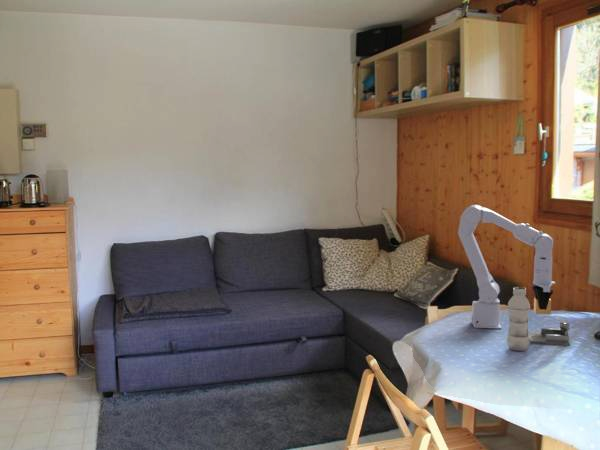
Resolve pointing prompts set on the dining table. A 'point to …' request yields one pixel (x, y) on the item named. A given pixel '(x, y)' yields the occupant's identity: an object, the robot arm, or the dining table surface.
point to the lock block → (541, 311)
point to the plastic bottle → (518, 320)
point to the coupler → (551, 335)
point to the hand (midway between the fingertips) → (541, 307)
